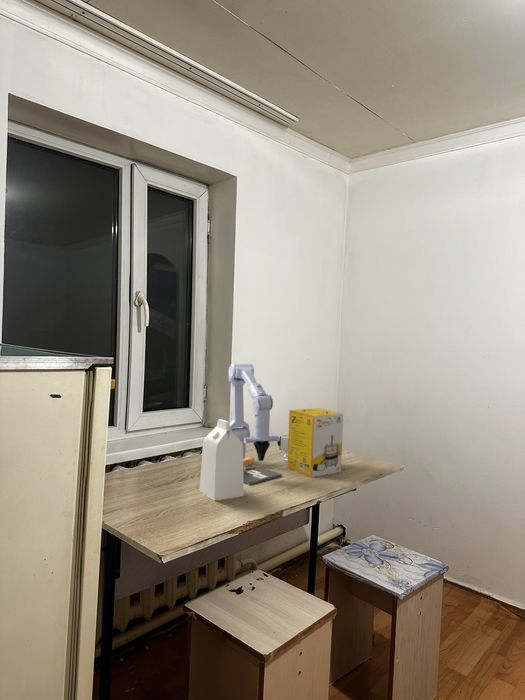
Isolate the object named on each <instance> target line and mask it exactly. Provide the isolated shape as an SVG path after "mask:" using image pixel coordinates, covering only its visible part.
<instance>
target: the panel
mask: <svg viewBox="0 0 525 700" xmlns="http://www.w3.org/2000/svg"><path fill="white" fill-rule="evenodd" d="M249 470H255V471H258V472H261V473H260V474H262V475H265V476H268V477H267V478H263V479H260V478H257V477H254V476H253V474H250V473H247V472H246V471H249ZM281 477H283V474H282V473H280V472H277V471H274V470H271V469H267V468H264V467H260V466H258V465H256V464H255V463H254V465H248V466H245V467H243V484H245V485H247V486H253V485H255V484H259V483H263V482H267V481H270V480H274V479H278V478H281ZM252 484H253V485H252Z"/></svg>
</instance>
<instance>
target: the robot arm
mask: <svg viewBox="0 0 525 700" xmlns="http://www.w3.org/2000/svg"><path fill="white" fill-rule="evenodd" d="M254 367H255V366H254V365H253V364H252V363H231V364H230V366H229V367H228V382H229V383H231V391H232V392H231V395H232V396H231V397H232V398H231V399H232V404H231V405H232V420H231V421H230V422H229V424H230V431H232V432H233V433H234V434H235V435H236V436H237V437H238V438H239V440H240V441H241V442H242V444H243V459H245V457H246V450H247V449H246V448H247V447H246V446H247V445H248V444H253V446H254V448H255V450H256V453H257V454H256V455H257V460H258V461H260V462H263V461H264V460H265V456H266V453H267V451H268V450H269V448H270V445H271V444H270V442H278V441H279V438H280V436H279V435H270V422H271V421H270V416H271V415H270V414H271V410H272V409H273V407H274V401H273V400H274V399H273V397H272V395H271V394H268V393H266V391H265V390H264V388H263V386H262V385H261V383H257V379H256V378H255V377H256V376H255V375H254V374H255V368H254ZM245 384H246V385H247V386H248V390H247V391H248V393H249V395H250V398H251V399H252V407H253V413H254V415H255V416H254V435H252V436H251V431H250V425H249V424H248V423H247V422H246V421H245V420H244V419H245V418H244V417H245V416H244V408H245V407H244V385H245Z"/></svg>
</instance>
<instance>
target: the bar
mask: <svg viewBox="0 0 525 700" xmlns="http://www.w3.org/2000/svg"><path fill="white" fill-rule="evenodd" d="M254 464H255V457H253V456H245V459H243V467H245V466H248V465H254Z"/></svg>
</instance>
